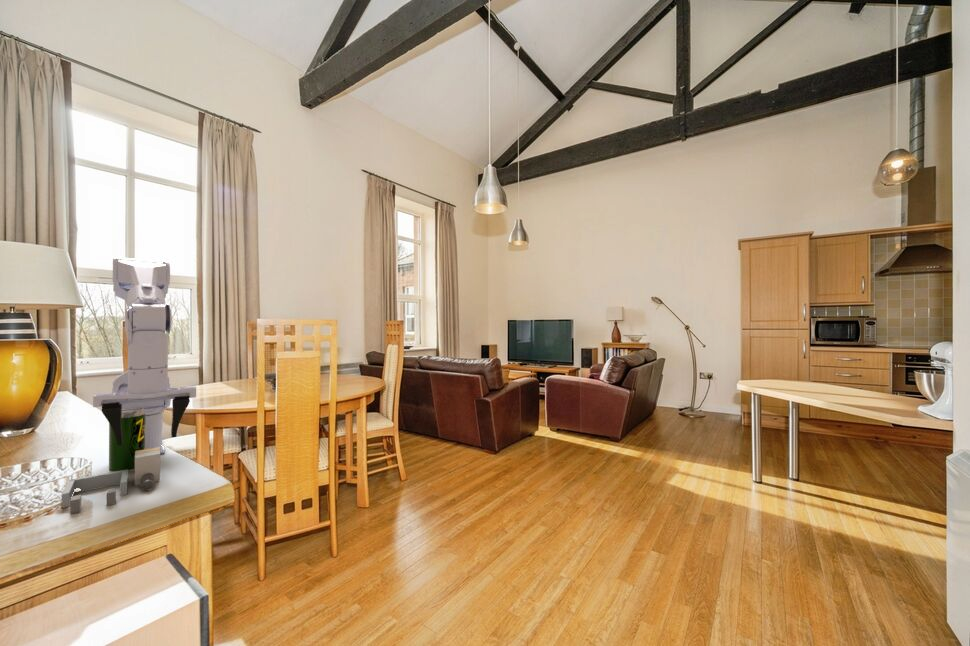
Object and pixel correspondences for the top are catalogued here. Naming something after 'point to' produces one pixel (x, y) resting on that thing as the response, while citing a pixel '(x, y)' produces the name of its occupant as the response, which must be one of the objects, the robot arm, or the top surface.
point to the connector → (147, 467)
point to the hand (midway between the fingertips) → (147, 439)
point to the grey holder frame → (94, 483)
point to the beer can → (127, 440)
